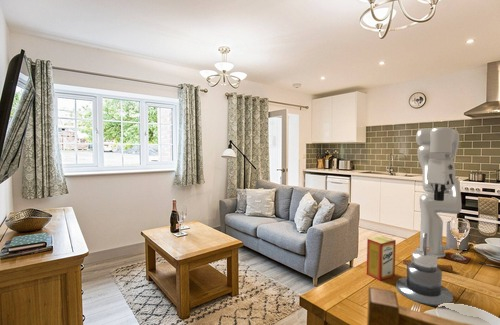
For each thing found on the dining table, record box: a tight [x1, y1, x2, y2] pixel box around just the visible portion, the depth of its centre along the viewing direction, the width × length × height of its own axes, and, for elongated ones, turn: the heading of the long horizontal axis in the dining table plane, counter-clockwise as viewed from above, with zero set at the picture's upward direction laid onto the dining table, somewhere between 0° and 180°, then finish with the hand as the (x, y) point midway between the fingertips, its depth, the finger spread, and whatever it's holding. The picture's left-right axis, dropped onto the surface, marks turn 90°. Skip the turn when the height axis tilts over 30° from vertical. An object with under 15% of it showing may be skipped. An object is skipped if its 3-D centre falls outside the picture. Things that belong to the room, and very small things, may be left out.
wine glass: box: [445, 220, 470, 251], centre depth 146 cm, size 10×10×15 cm
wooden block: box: [411, 233, 438, 272], centre depth 103 cm, size 18×8×13 cm, turn 142°
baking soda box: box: [366, 235, 397, 282], centre depth 113 cm, size 10×6×16 cm
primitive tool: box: [402, 259, 454, 274], centre depth 122 cm, size 19×6×4 cm, turn 60°
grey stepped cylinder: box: [395, 262, 454, 307], centre depth 99 cm, size 18×18×10 cm
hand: (438, 200), depth 111 cm, fingers closed
